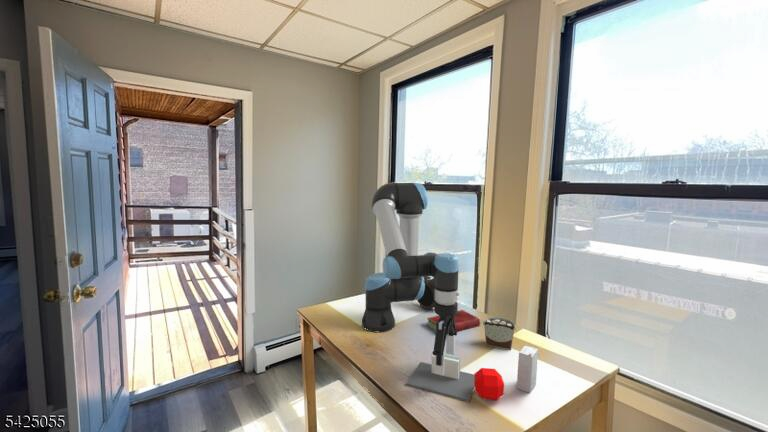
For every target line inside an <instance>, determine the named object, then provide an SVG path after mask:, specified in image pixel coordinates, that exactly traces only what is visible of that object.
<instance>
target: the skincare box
mask: <svg viewBox="0 0 768 432" xmlns="http://www.w3.org/2000/svg"><path fill="white" fill-rule="evenodd" d="M538 354H539V349H538V348H535V347H531V346H528V345H524V346H523V347H522V348H521V350H520V351H519V352H518V361H517V377H516V378H517V379H516V388H517V389H519V390H521V391H523V392H525V393H526V392H527V393H529V394H531V392H532V390H533V389H534V388H535V386H536V384H537V375H538V374H537V371H538V356H539V355H538Z"/></svg>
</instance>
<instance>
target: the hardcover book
mask: <svg viewBox="0 0 768 432" xmlns="http://www.w3.org/2000/svg"><path fill="white" fill-rule="evenodd" d="M454 317H455V325H456V331H455V332H457V333H459V332H463V331H466V330H470V329H474V328H477V327H480V326H481V322H482V321H481V318H480V317H479V316H476V315H474V314H472V313H470V312H468V311H466V310H465V309H460V310H458V312H457V314H456V315H455V316H454ZM426 319H427V326H428V327H430V328H431V329H433V330H434V331H436V323H437V322H438V320H439V319H440V316H439V315H434V316H431V317H427V318H426ZM447 335H449V334H447Z"/></svg>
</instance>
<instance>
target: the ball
mask: <svg viewBox="0 0 768 432" xmlns="http://www.w3.org/2000/svg"><path fill="white" fill-rule="evenodd" d="M474 375H475V378H474V385H475V387H474V389H475V393H476V394H477V395H478V396H479V397H480V399H482V400H486V401H487V400H489V401H497V400H499V399H500V398H501V397H502V396H504V395H505V394H504V392H505V382H504V378H503V376H502V375H501V374H500V373H499V372H498V370H496V369H495V368H491V367H490V368H488V367H487V368H486V367H481V368H480V369H479V370H477V371H475V373H474Z"/></svg>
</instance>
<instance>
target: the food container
mask: <svg viewBox="0 0 768 432" xmlns="http://www.w3.org/2000/svg"><path fill="white" fill-rule="evenodd" d="M482 326H484V337H485V346H489V347H493V348H499V349H504V350H510V351H511V350H512V346H513V339H514V333H515V332H516V331H517V329H516V325H515V323H514V322H513V321H511V319H508V318H504V317H498V316H497V317H495V316H492V317H488V318H485V319H484V320H483V323H482ZM514 331H515V332H514Z"/></svg>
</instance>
